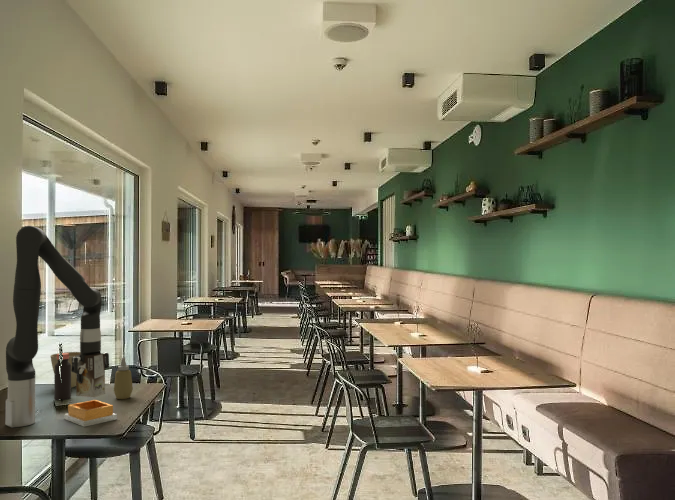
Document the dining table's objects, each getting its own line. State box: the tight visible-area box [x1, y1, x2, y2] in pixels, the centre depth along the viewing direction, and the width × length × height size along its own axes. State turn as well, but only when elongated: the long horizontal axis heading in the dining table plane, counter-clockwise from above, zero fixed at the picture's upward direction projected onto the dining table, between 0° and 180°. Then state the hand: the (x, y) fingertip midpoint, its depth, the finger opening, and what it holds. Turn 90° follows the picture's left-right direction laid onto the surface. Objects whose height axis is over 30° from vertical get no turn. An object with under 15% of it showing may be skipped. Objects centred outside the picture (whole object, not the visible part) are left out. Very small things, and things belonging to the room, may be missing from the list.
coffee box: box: [75, 352, 106, 398], centre depth 225 cm, size 9×6×16 cm
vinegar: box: [53, 352, 72, 401], centre depth 258 cm, size 7×7×20 cm
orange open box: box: [63, 399, 118, 428], centre depth 225 cm, size 13×16×6 cm
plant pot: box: [50, 351, 80, 389], centre depth 282 cm, size 15×15×16 cm
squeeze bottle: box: [113, 357, 134, 400], centre depth 259 cm, size 8×8×18 cm
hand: (90, 381), depth 225 cm, fingers closed on coffee box, 8 cm apart
